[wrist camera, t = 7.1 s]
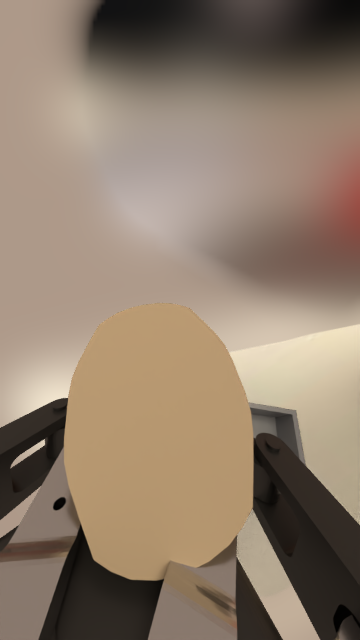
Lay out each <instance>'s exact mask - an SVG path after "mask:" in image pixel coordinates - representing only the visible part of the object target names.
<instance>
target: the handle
mask: <svg viewBox="0 0 360 640" xmlns="http://www.w3.org/2000/svg"><path fill="white" fill-rule="evenodd" d="M253 463H254V461H253V426H252V417H251V410H250V407H249V404H248V400H247V397H246V394H245V391H244V388H243V386H242V383H241V381H240V378H239V376H238V373H237V371H236V368H235V366H234V363H233V361H232V358H231V356H230V354H229V352H228V351H227V349H226V347H225V345H224V344H223V342H222V341H221V340H220V338H219V337H218V336H217V335H216V334H215V333H214V331H213V330H212V329H211V328H210V327H208V326H207V324H206V323H205V322H204V321H203V320H201V319H200V318H199V317H198V316H197V315H196V314H195V313H194V312H193V311H192V310H191V309H190V308H187V307H184V306H180V305H176V304H171V303H155V304H146V305H141V306H137V307H133V308H129V309H127V310H124V311H121V312H119V313H117V314H115V315H113V316H112V317H110V318H108V319H107V320H105V321H104V322H103V323H101V324H100V325H99V326H98V328H97V329H96V331H95V333H94V335H93V336H92V338H91V340H90V342H89V343H88V345H87V347H86V349H85V351H84V353H83V355H82V357H81V358H80V360H79V362H78V365H77V367H76V370H75V372H74V375H73V377H72V381H71V386H70V391H69V396H68V405H67V415H66V425H65V434H64V465H65V470H66V475H67V480H68V485H69V489H70V492H71V495H72V498H73V501H74V504H75V507H76V510H77V514H78V517H79V519H80V522H81V525H82V528H83V531H84V534H85V537H86V539H87V542H88V545H89V548H90V551H91V554H92V557H93V559H94V561H96V562H97V563H99V564H100V565H102V566H103V567H105V568H106V569H108V570H109V571H111V572H113V573H116V574H118V575H121V576H123V577H125V578H128V579H130V580H155V581H157V580H161V579H164V578H165V575H166V572H167V569H168V566H169V563H170V560H171V561H174V562H177V563H180V564H184V565H187V566H191V567H194V568H197V567H199V566H201V565H203V564H205V563H207V562H209V561H210V560H212V559H213V558H214V557H215V556H216V555H218V554H219V553H220V552H221V551H223V550H224V549H225V548H226V547H228V546H229V545H230V543H231V542H232V541H233V539H234V538H235V537H236V535H237V534H238V532H239V531H240V530H241V528H242V527H243V525H244V523H245V521H246V519H247V517H248V515H249V514H250V512H251V510H252V508H253Z"/></svg>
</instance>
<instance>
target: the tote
mask: <svg viewBox="0 0 360 640" xmlns="http://www.w3.org/2000/svg"><path fill="white" fill-rule="evenodd" d="M248 404H249V407H250V410H251V417H252V426H253V438H256V436H257V435H258V434H259V433H269V434H272V435H275V436H276V437H278V438H280V439H281V440H282V441H283V442H284V443H285V444H286V445H287V446H288V447H289V448H290V449H291V450H292V451H293V452H294V454H295V455H296V456H297V457H298V458H299V459H300V460H301V461H302V462H303V463H304V465H305V459H304V453H303V448H302V442H301V436H300V430H299V425H298V419H297V413H296V410H290V409H284V408H278V407H272V406H266V405H260V404H254V403H248ZM305 466H306V465H305Z"/></svg>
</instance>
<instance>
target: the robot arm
mask: <svg viewBox="0 0 360 640" xmlns="http://www.w3.org/2000/svg"><path fill="white" fill-rule="evenodd" d="M67 405H68V398H62V399H58V400H55V401H53V402H51V403H49V404H47V405H45V406H43V407H41V408H39V409H37V410H35V411H33V412H31V413H29V414H27V415H25V416H23V417H21V418H19V419H17V420H15V421H13V422H11V423H9V424H7V425H5V426H3V427H1V428H0V520H1V519H2V518H3V517H4V516H6V515H7V514H8V513H9V512H10V511H12V510H13V509H14V508H15V507H16V506H18V505H19V504H20V503H21V502H22V501H24V500H25V499H26V498H27V497H28V496H29V495H31V494H32V493H33V492H34V491H35V490H37V489H38V488H39V487H40V486H41V485H42V486H41V488H40V489H39V491H38V493H37V495H36V497H35V498H34V500H33V502H32V503H31V505H30V507H29V509H28V510H27V512H26V514H25V516H24V518H23V519H22V521H21V523H20V524H19V525H18V526H17V527H16V528H14V529H13V530H11V531H10V532H9V533H7V534H6V535H5V536H3V537H1V538H0V640H283V639H282V638H281V636H280V634H279V632H278V630H277V629H276V627H275V625H274V623H273V621H272V620H271V618H270V616H269V614H268V612H267V611H266V609H265V607H264V605H263V603H262V602H261V600H260V598H259V596H258V594H257V593H256V591H255V589H254V587H253V586H252V584H251V582H250V580H249V578H248V577H247V575H246V573H245V571H244V569H243V568H242V566H241V564H240V562H239V560H238V559H237V557H236V550H237V535H236V537H235V538H234V539H233V541H232V542H231V543H230V545H229V546H228V547H226V548H225V549H224V550H223V551H221V552H220V553H219V554H218V555H216V556H215V557H214V558H213V559H212V560H210V561H209V562H207V563H205V564H203V565H201V566H199V567H197V568H194V567H191V566H187V565H184V564H180V563H177V562H174V561H171V560H170V563H169V566H168V569H167V572H166V575H165V578H164V579H161V580H157V581H155V580H130V579H128V578H125V577H123V576H121V575H118V574H116V573H113V572H111V571H109V570H108V569H106V568H105V567H103V566H102V565H100V564H99V563H97V562H96V561H94V559H93V557H92V554H91V551H90V548H89V545H88V542H87V539H86V537H85V534H84V531H83V528H82V525H81V522H80V519H79V517H78V514H77V510H76V507H75V504H74V501H73V498H72V495H71V492H70V489H69V485H68V480H67V475H66V470H65V465H64V434H65V425H66V415H67ZM44 439H45V446H43V447H42V448H40V449H39V450H37V451H36V452H34V453H33V454H32V455H30V456H28V457H27V458H25V459H24V460H23V461H21V462H20V463H18V464H17V465H15V466H14V467H12V468H11V469H10V467H11V464H12V463H13V461H14V460H15V459H16V458H17V457H18V456H19V455H20V454H22V453H23V452H25V451H26V450H28V449H30V448H31V447H33V446H34V445H36V444H37V443H39V442H40V441H42V440H44ZM253 461H254V463H253V510H254V512H255V514H256V516H257V518H258V520H259V522H260V524H261V526H262V528H263V530H264V532H265V533H266V535H267V537H268V539H269V541H270V543H271V545H272V547H273V549H274V551H275V553H276V555H277V557H278V559H279V561H280V563H281V564H282V566H283V568H284V570H285V572H286V574H287V576H288V578H289V580H290V582H291V584H292V586H293V588H294V590H295V592H296V593H297V595H298V597H299V599H300V601H301V603H302V605H303V607H304V609H305V611H306V613H307V615H308V617H309V619H310V621H311V622H312V624H313V626H314V628H315V630H316V632H317V634H318V636H319V638H320V640H360V525H359V524H358V523H357V522H356V521H355V520H354V518H353V517H352V516H351V515H350V514H349V513H348V512H347V511H346V510H345V509H344V507H343V506H342V505H341V504H340V503H339V502H338V501H337V500H336V499H335V498H334V496H333V495H332V494H331V493H330V492H329V491H328V490H327V489H326V488H325V487H324V485H323V484H322V483H321V482H320V481H319V480H318V479H317V478H316V477H315V476H314V474H313V473H312V472H311V471H310V470H309V469H308V468H307V467H306V466H305V465H304V463H303V462H302V461H301V460H300V459H299V458H298V457H297V456H296V455H295V454H294V452H293V451H292V450H291V449H290V448H289V447H288V446H287V445H286V444H285V443H284V442H283V441H282V440H281V439H280V438H278V437H276V436H275V435H272V434H269V433H259V434H258V435H257V436H256V438H253Z"/></svg>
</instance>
